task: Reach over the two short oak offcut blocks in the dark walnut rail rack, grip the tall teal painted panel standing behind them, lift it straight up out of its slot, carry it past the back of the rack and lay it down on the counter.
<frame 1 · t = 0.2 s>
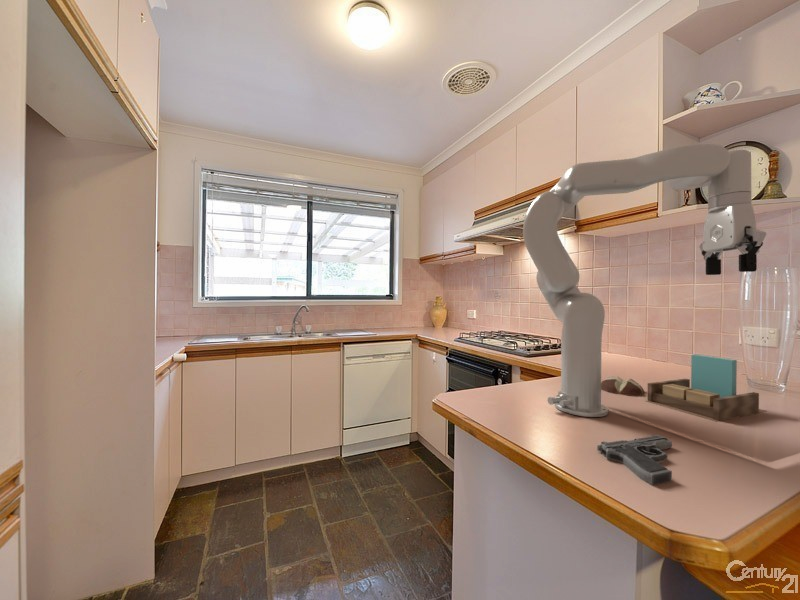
hand: (729, 273, 80), 37 cm above the countertop, tool pointing down, fingers open, 9 cm apart
offcut left: (677, 404, 88), point 1 cm above the countertop, touching rack
rack: (703, 409, 88), on the countertop
offcut right: (702, 411, 83), point 1 cm above the countertop, touching rack
handgun: (652, 463, 60), on the countertop
bread: (620, 394, 102), on the countertop
panel: (712, 404, 89), point 1 cm above the countertop, touching rack
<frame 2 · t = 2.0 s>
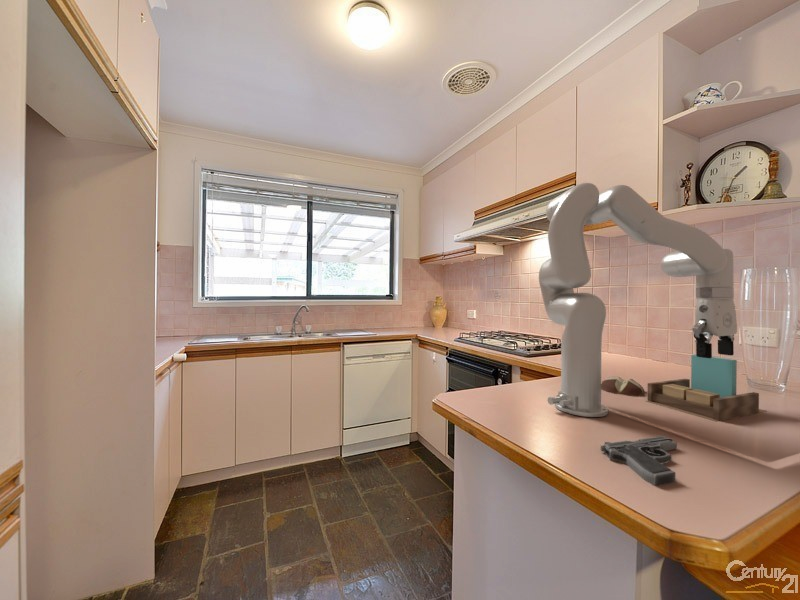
hand: (715, 356, 89), 14 cm above the countertop, tool pointing down, fingers open, 9 cm apart
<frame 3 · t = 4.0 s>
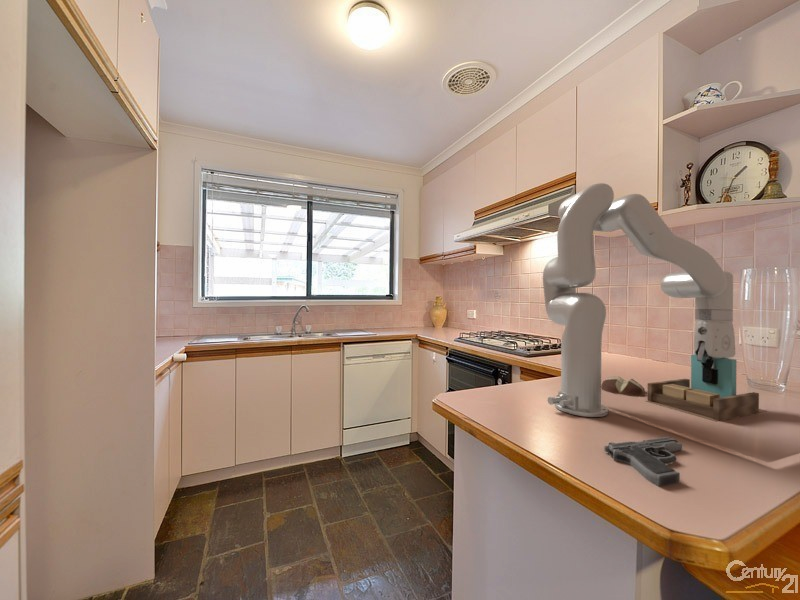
hand: (712, 382, 89), 7 cm above the countertop, tool pointing down, fingers closed on panel, 1 cm apart
panel: (712, 403, 89), point 1 cm above the countertop, touching gripper
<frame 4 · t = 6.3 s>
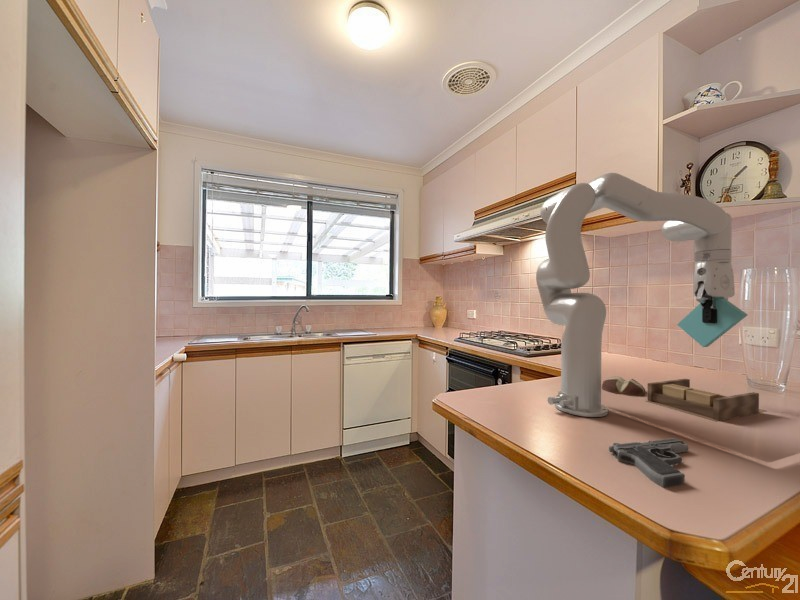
hand: (712, 322, 91), 23 cm above the countertop, tool pointing down, fingers closed on panel
panel: (691, 335, 96), point 19 cm above the countertop, tilted 42°, touching gripper
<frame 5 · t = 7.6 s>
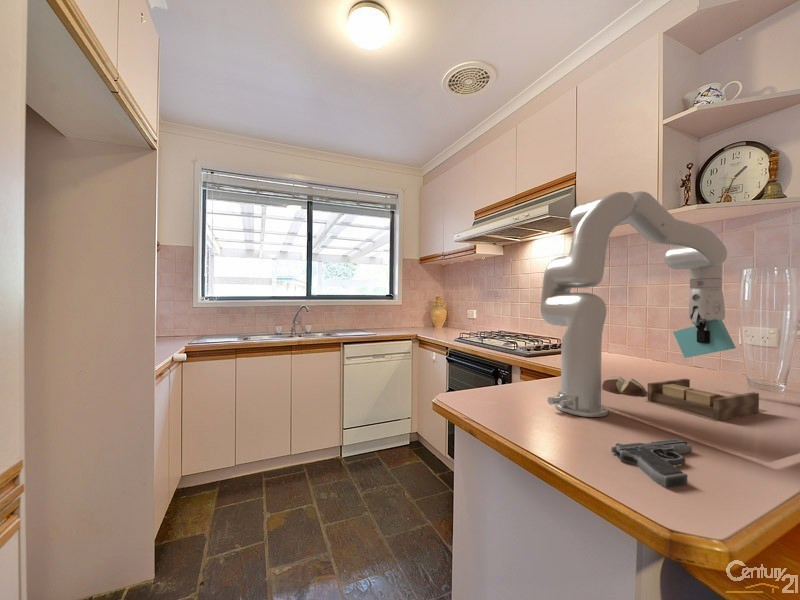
hand: (705, 342, 102), 16 cm above the countertop, tool pointing down, fingers closed on panel
panel: (680, 344, 109), point 15 cm above the countertop, tilted 68°, touching gripper
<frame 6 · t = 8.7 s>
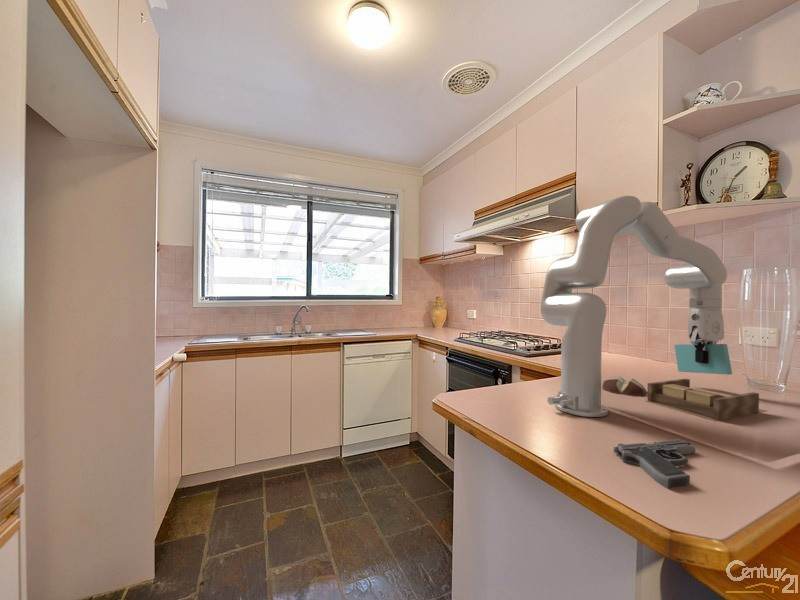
hand: (704, 362, 102), 10 cm above the countertop, tool pointing down, fingers closed on panel
panel: (678, 358, 109), point 10 cm above the countertop, tilted 82°, touching gripper
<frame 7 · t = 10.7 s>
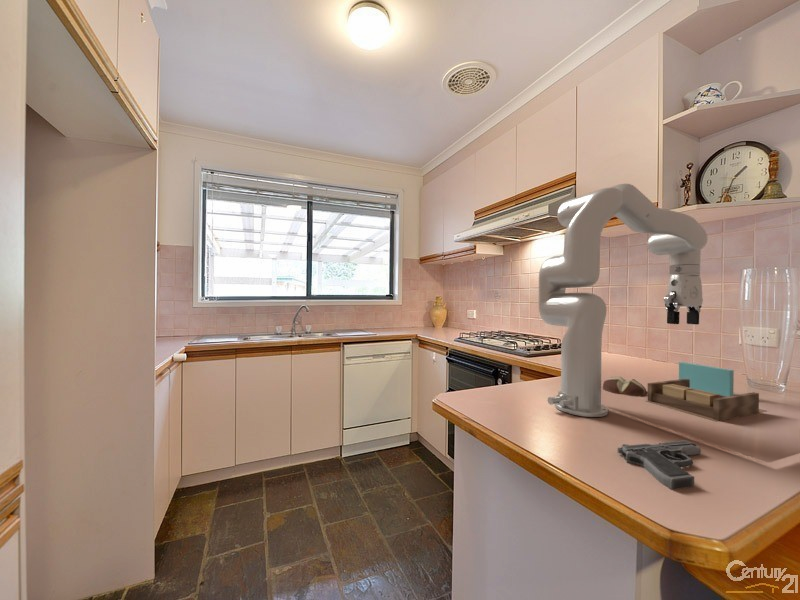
hand: (683, 324, 105), 22 cm above the countertop, tool pointing down, fingers open, 9 cm apart
panel: (680, 375, 108), point 4 cm above the countertop, tilted 90°
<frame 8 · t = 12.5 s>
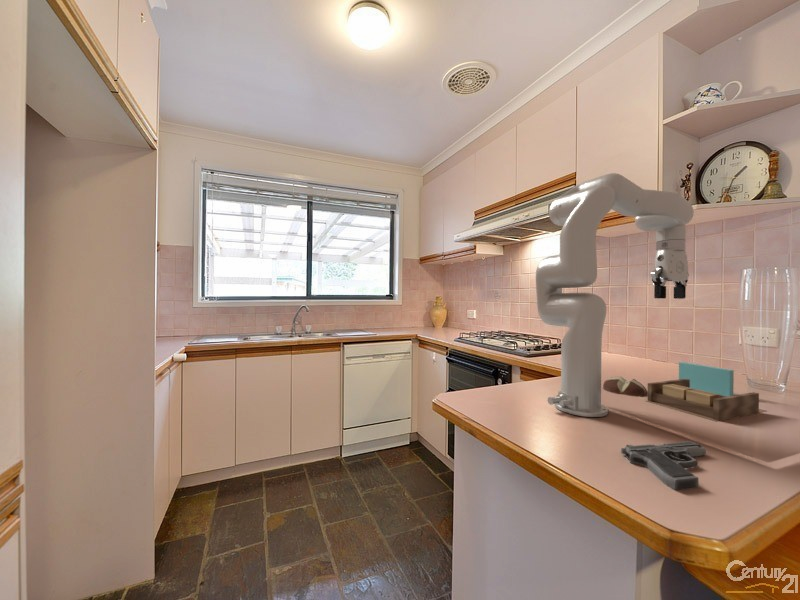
hand: (669, 298, 107), 30 cm above the countertop, tool pointing down, fingers open, 9 cm apart
at the end: panel inside the target area (6.3 cm from its centre), point 4.4 cm above the countertop; the gripper is holding nothing; offcut left moved 0.0 cm from its start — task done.
